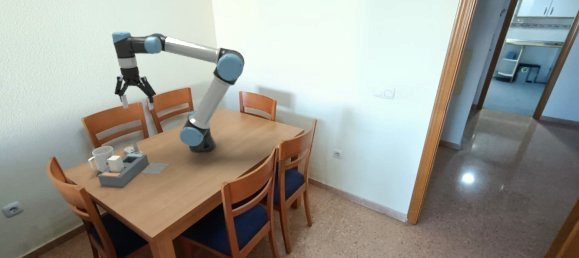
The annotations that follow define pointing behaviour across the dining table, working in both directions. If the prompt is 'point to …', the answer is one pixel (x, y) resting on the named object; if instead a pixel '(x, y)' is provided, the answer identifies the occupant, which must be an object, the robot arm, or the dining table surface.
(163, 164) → the mat
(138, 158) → the dock
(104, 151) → the mug
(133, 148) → the electronic device
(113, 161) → the plug
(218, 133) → the dining table surface
